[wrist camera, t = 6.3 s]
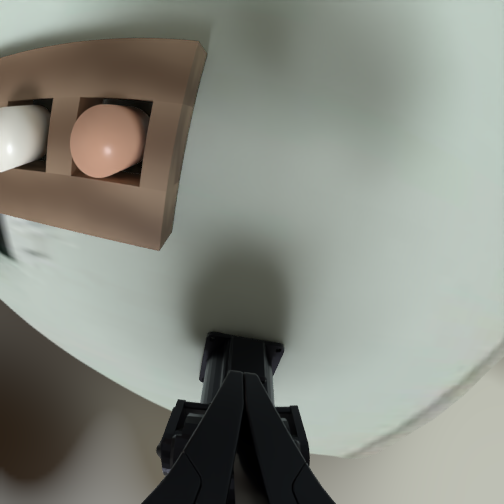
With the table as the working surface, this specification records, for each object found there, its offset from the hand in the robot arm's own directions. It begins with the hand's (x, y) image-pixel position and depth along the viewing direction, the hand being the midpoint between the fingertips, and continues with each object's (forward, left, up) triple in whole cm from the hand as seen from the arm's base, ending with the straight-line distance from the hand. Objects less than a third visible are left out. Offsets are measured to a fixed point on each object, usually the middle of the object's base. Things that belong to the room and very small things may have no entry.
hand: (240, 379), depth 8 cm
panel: (+5, +16, -12) cm, 21 cm away
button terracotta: (+5, +9, -11) cm, 15 cm away
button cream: (+5, +16, -10) cm, 20 cm away
